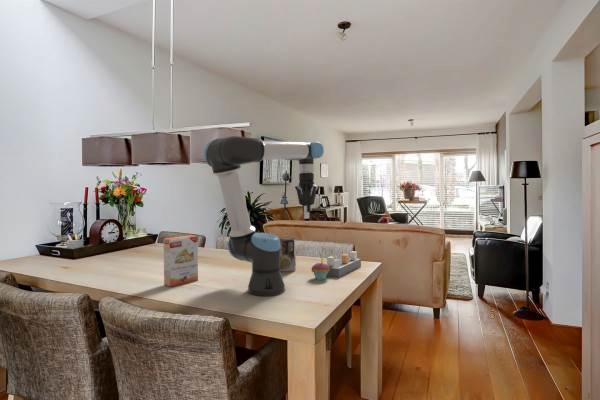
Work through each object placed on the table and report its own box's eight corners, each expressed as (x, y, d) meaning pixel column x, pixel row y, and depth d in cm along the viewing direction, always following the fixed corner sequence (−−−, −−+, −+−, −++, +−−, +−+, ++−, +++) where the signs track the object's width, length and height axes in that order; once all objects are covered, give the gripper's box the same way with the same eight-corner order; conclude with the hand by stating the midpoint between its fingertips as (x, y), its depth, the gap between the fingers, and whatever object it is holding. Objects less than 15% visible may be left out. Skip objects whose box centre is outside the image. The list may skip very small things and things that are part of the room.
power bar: (339, 277, 164) (339, 268, 164) (322, 274, 169) (322, 266, 169) (361, 266, 186) (361, 258, 186) (345, 264, 191) (345, 256, 191)
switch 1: (331, 266, 169) (331, 258, 169) (327, 265, 171) (327, 257, 170) (334, 264, 172) (334, 256, 171) (330, 264, 173) (329, 256, 173)
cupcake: (317, 275, 169) (316, 250, 168) (332, 277, 164) (332, 252, 164) (308, 279, 161) (308, 253, 161) (324, 282, 157) (324, 255, 157)
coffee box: (296, 268, 182) (295, 237, 182) (294, 271, 176) (294, 239, 175) (278, 268, 183) (278, 237, 183) (276, 271, 177) (276, 239, 176)
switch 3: (354, 260, 182) (354, 252, 182) (350, 259, 183) (350, 252, 183) (356, 259, 185) (356, 251, 184) (352, 258, 186) (352, 251, 186)
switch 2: (346, 263, 175) (346, 255, 175) (341, 262, 176) (341, 254, 176) (348, 262, 177) (348, 254, 177) (344, 261, 179) (344, 253, 178)
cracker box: (170, 287, 150) (169, 239, 149) (163, 285, 154) (162, 238, 153) (199, 280, 161) (198, 235, 160) (191, 278, 165) (190, 234, 164)
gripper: (321, 172, 178) (321, 218, 180) (299, 173, 186) (300, 217, 187) (313, 172, 172) (313, 219, 173) (291, 172, 179) (292, 218, 180)
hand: (306, 218), depth 180 cm, fingers closed
